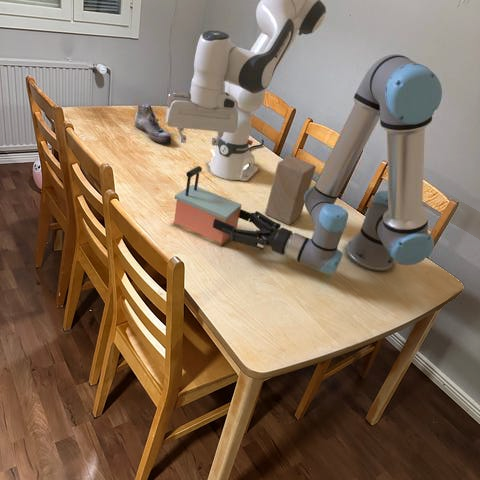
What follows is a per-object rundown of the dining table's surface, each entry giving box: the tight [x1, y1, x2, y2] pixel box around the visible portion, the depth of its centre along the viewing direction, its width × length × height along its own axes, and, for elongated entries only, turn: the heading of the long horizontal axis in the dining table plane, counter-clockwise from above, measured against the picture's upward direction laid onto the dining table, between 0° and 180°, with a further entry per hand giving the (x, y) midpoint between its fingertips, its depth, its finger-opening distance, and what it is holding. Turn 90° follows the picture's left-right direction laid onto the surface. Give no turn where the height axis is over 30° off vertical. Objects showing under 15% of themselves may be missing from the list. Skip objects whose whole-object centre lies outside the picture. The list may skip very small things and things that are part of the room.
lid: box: [174, 165, 243, 220], centre depth 133 cm, size 18×10×9 cm, turn 64°
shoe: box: [134, 102, 172, 145], centre depth 194 cm, size 25×11×12 cm, turn 30°
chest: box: [173, 200, 242, 247], centre depth 138 cm, size 17×10×9 cm, turn 64°
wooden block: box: [264, 155, 317, 226], centre depth 152 cm, size 10×10×20 cm
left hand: (198, 143), depth 128 cm, fingers open, 8 cm apart
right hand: (222, 216), depth 135 cm, fingers closed on chest, 10 cm apart
